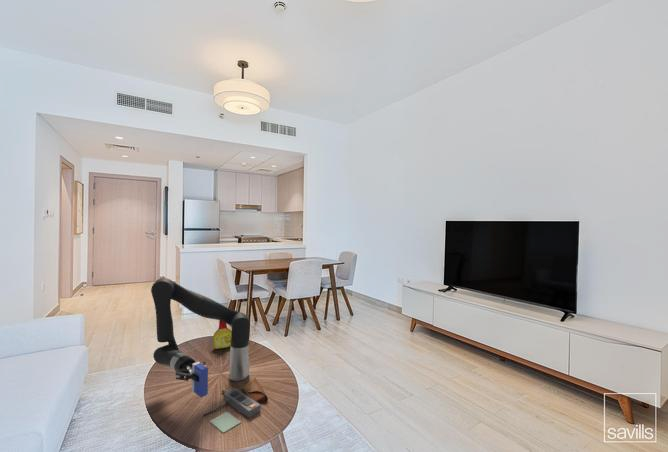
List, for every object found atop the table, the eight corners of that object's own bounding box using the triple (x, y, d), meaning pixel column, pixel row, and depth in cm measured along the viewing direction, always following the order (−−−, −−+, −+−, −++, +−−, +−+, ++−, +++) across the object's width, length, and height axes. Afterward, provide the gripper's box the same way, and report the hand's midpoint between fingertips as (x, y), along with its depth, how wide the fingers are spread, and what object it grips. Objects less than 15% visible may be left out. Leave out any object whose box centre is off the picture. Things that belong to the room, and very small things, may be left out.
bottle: (213, 351, 187) (214, 319, 187) (211, 347, 193) (212, 316, 192) (232, 347, 193) (234, 317, 193) (230, 343, 199) (231, 314, 198)
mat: (227, 412, 129) (227, 411, 129) (240, 422, 123) (240, 421, 123) (209, 421, 123) (209, 421, 123) (223, 433, 117) (223, 432, 117)
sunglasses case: (239, 387, 149) (246, 374, 151) (251, 390, 152) (258, 378, 154) (250, 407, 134) (257, 392, 136) (262, 410, 137) (270, 396, 139)
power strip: (192, 406, 133) (192, 399, 133) (227, 389, 147) (228, 382, 146) (224, 432, 117) (224, 424, 117) (260, 411, 131) (260, 403, 131)
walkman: (207, 394, 124) (208, 366, 123) (201, 397, 121) (201, 369, 121) (197, 387, 128) (198, 360, 128) (191, 390, 126) (191, 362, 126)
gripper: (166, 361, 128) (185, 375, 118) (197, 350, 139) (218, 362, 129) (166, 378, 129) (185, 394, 118) (197, 366, 140) (217, 379, 129)
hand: (202, 377), depth 124 cm, fingers closed on walkman, 2 cm apart
